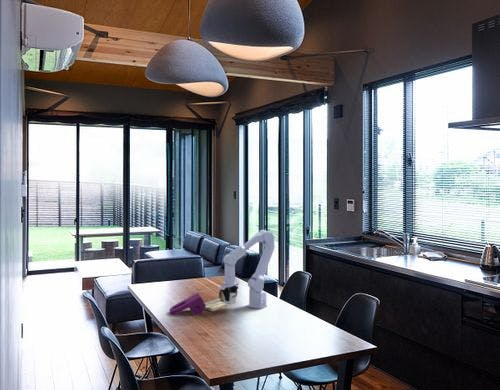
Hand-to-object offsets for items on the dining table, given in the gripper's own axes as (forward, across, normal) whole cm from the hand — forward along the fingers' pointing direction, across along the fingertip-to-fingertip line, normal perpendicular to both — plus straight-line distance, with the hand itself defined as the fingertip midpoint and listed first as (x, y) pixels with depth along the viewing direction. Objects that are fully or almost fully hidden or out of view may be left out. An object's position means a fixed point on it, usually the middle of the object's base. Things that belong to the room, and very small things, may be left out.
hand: (229, 300), depth 260 cm
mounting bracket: (+5, +19, -15) cm, 25 cm away
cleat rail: (+5, +2, -8) cm, 9 cm away
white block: (+2, 0, 0) cm, 2 cm away
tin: (+5, -15, -12) cm, 20 cm away
